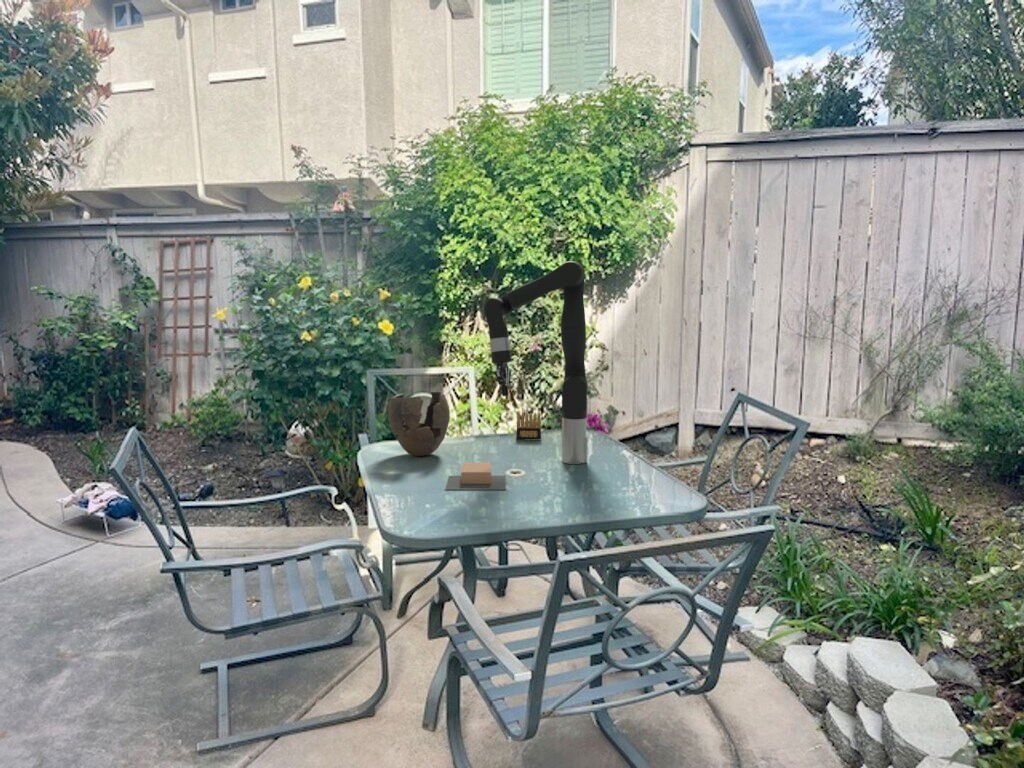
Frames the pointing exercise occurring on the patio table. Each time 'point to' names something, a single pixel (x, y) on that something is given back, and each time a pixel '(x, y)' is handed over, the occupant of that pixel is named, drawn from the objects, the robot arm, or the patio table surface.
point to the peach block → (476, 473)
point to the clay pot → (415, 434)
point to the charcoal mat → (496, 484)
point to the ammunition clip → (528, 427)
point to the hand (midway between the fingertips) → (505, 395)
